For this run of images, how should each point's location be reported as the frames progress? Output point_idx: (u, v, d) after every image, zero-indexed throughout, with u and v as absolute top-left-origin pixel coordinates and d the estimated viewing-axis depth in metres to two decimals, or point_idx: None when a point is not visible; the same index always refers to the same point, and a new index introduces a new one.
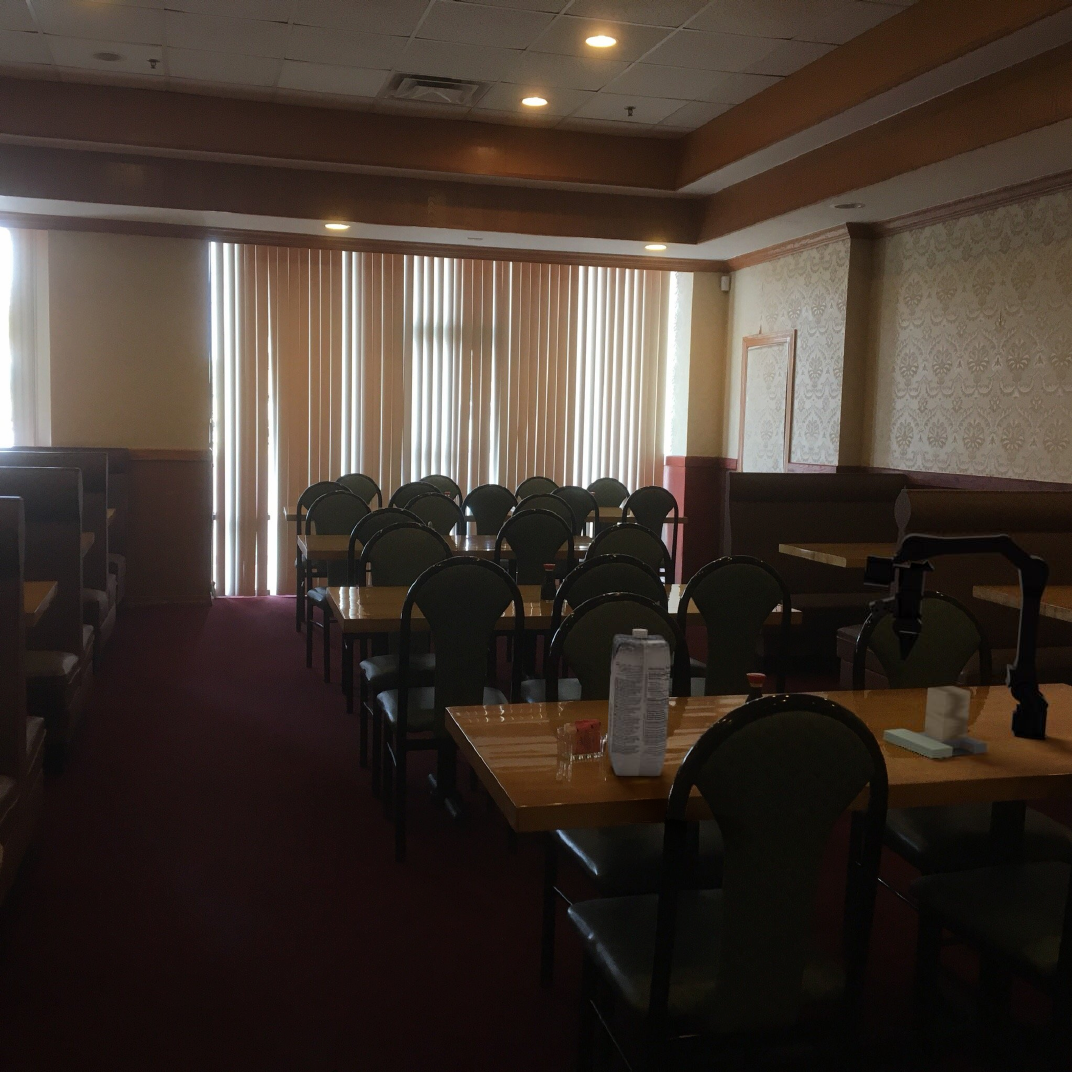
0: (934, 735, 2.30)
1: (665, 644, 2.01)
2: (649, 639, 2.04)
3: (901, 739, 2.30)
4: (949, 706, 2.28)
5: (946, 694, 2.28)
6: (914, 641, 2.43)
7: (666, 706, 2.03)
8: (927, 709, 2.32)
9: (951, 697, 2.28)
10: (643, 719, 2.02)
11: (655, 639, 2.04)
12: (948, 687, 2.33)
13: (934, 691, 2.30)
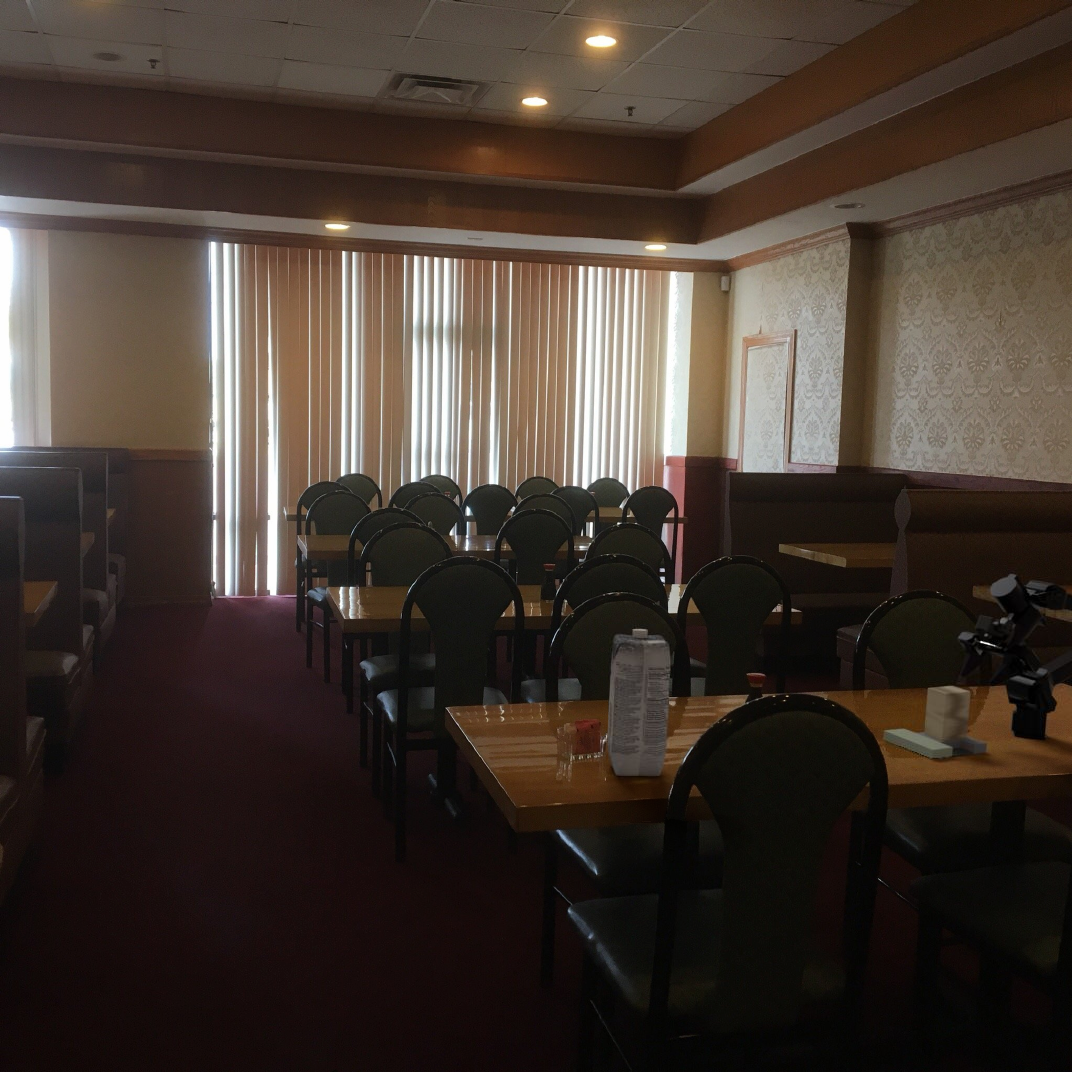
0: (934, 735, 2.30)
1: (665, 644, 2.01)
2: (649, 639, 2.04)
3: (901, 739, 2.30)
4: (949, 706, 2.28)
5: (946, 694, 2.28)
6: (1013, 675, 2.31)
7: (666, 706, 2.03)
8: (927, 709, 2.32)
9: (951, 697, 2.28)
10: (643, 719, 2.02)
11: (655, 639, 2.04)
12: (948, 687, 2.33)
13: (934, 691, 2.30)
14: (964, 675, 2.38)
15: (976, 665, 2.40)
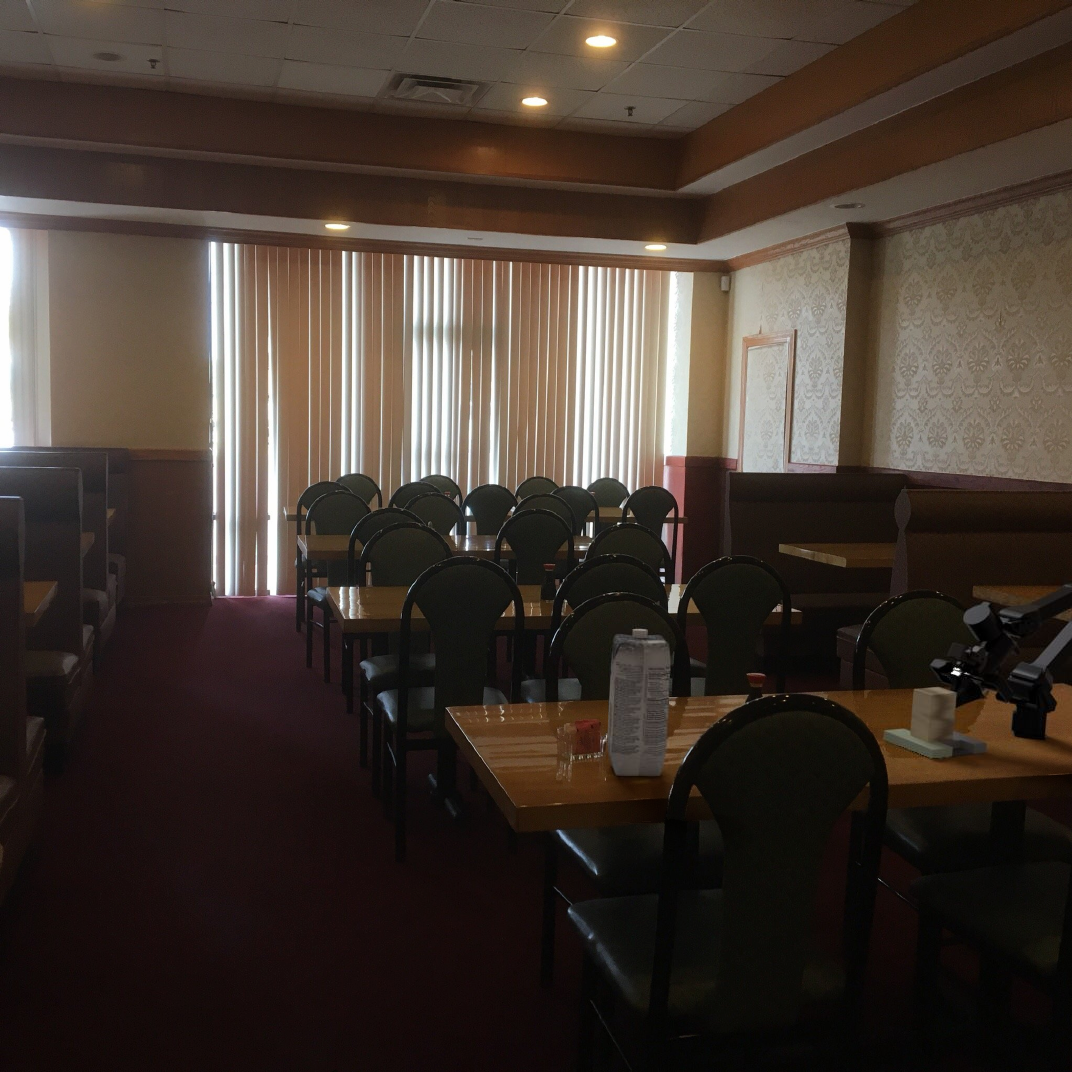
0: (920, 737, 2.29)
1: (665, 644, 2.01)
2: (649, 639, 2.04)
3: (901, 739, 2.30)
4: (934, 707, 2.27)
5: (932, 695, 2.26)
6: (971, 700, 2.32)
7: (666, 706, 2.03)
8: (913, 710, 2.31)
9: (937, 698, 2.27)
10: (643, 719, 2.02)
11: (655, 639, 2.04)
12: (934, 688, 2.32)
13: (920, 692, 2.29)
14: None
15: None
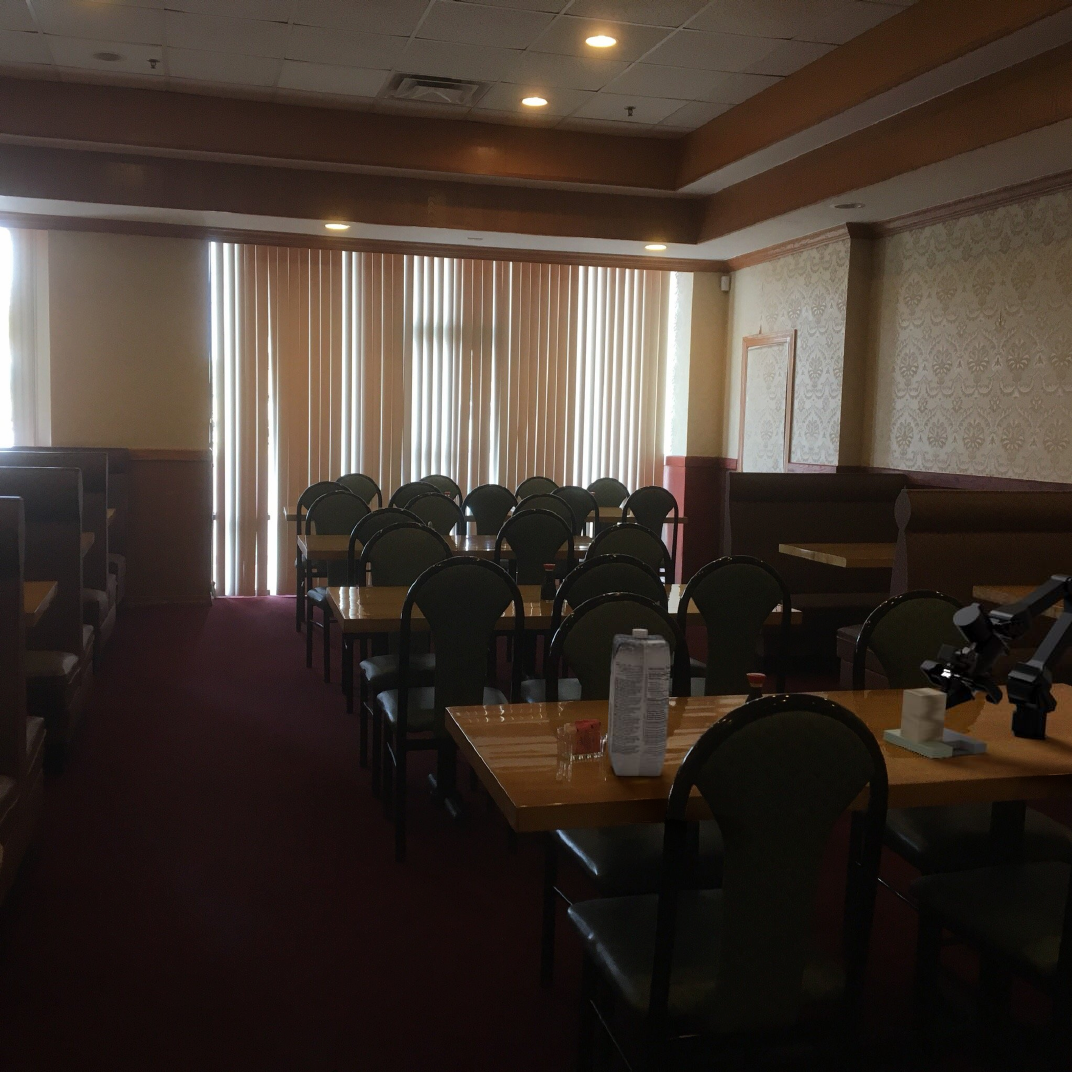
0: (910, 738, 2.28)
1: (665, 644, 2.01)
2: (649, 639, 2.04)
3: (901, 739, 2.30)
4: (924, 708, 2.26)
5: (922, 696, 2.25)
6: (961, 702, 2.31)
7: (666, 706, 2.03)
8: (903, 711, 2.29)
9: (927, 699, 2.26)
10: (643, 719, 2.02)
11: (655, 639, 2.04)
12: (924, 689, 2.30)
13: (910, 693, 2.28)
14: None
15: None
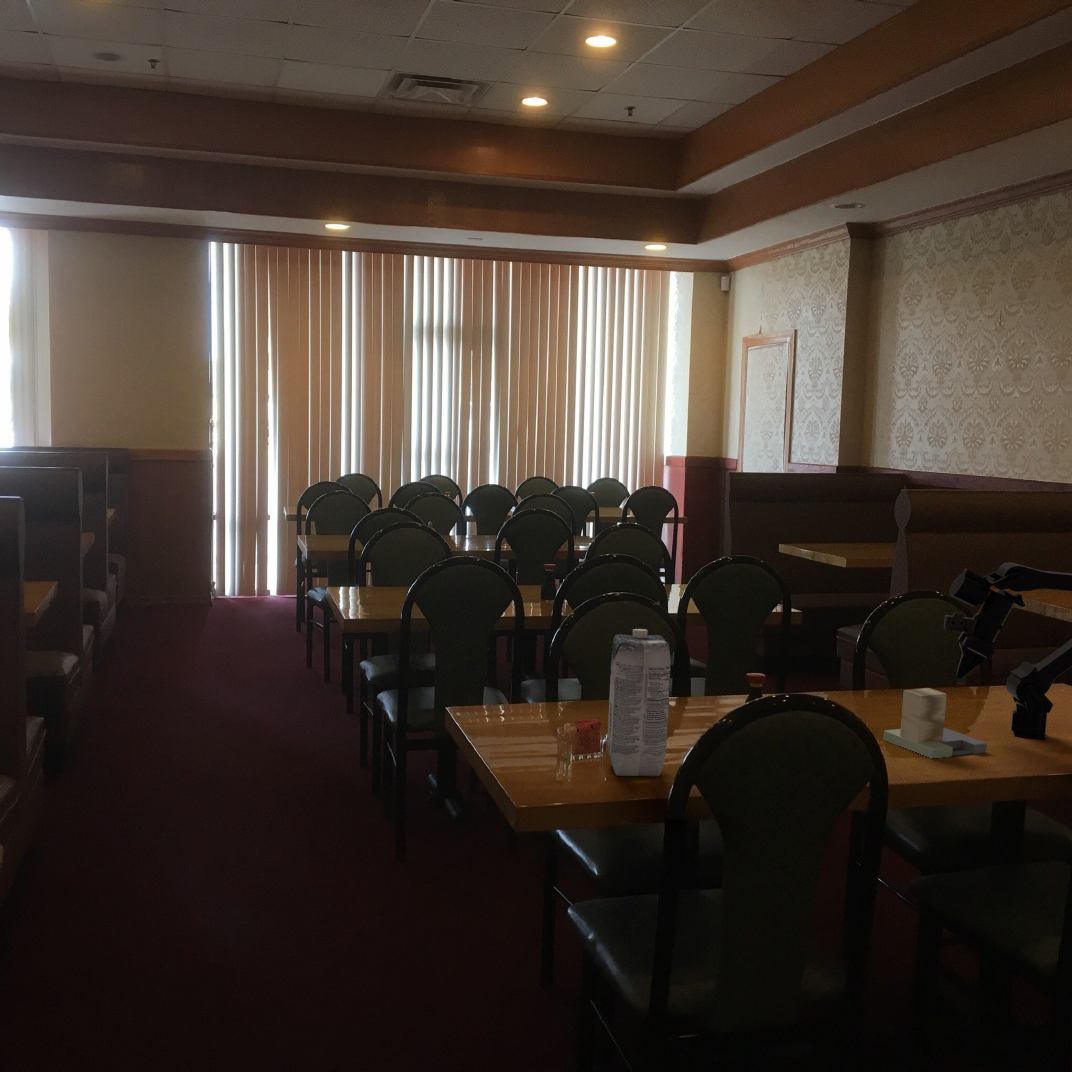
0: (910, 738, 2.28)
1: (665, 644, 2.01)
2: (649, 639, 2.04)
3: (901, 739, 2.30)
4: (924, 708, 2.26)
5: (922, 696, 2.25)
6: (977, 663, 2.40)
7: (666, 706, 2.03)
8: (903, 711, 2.29)
9: (927, 699, 2.26)
10: (643, 719, 2.02)
11: (655, 639, 2.04)
12: (924, 689, 2.30)
13: (910, 693, 2.28)
14: None
15: None
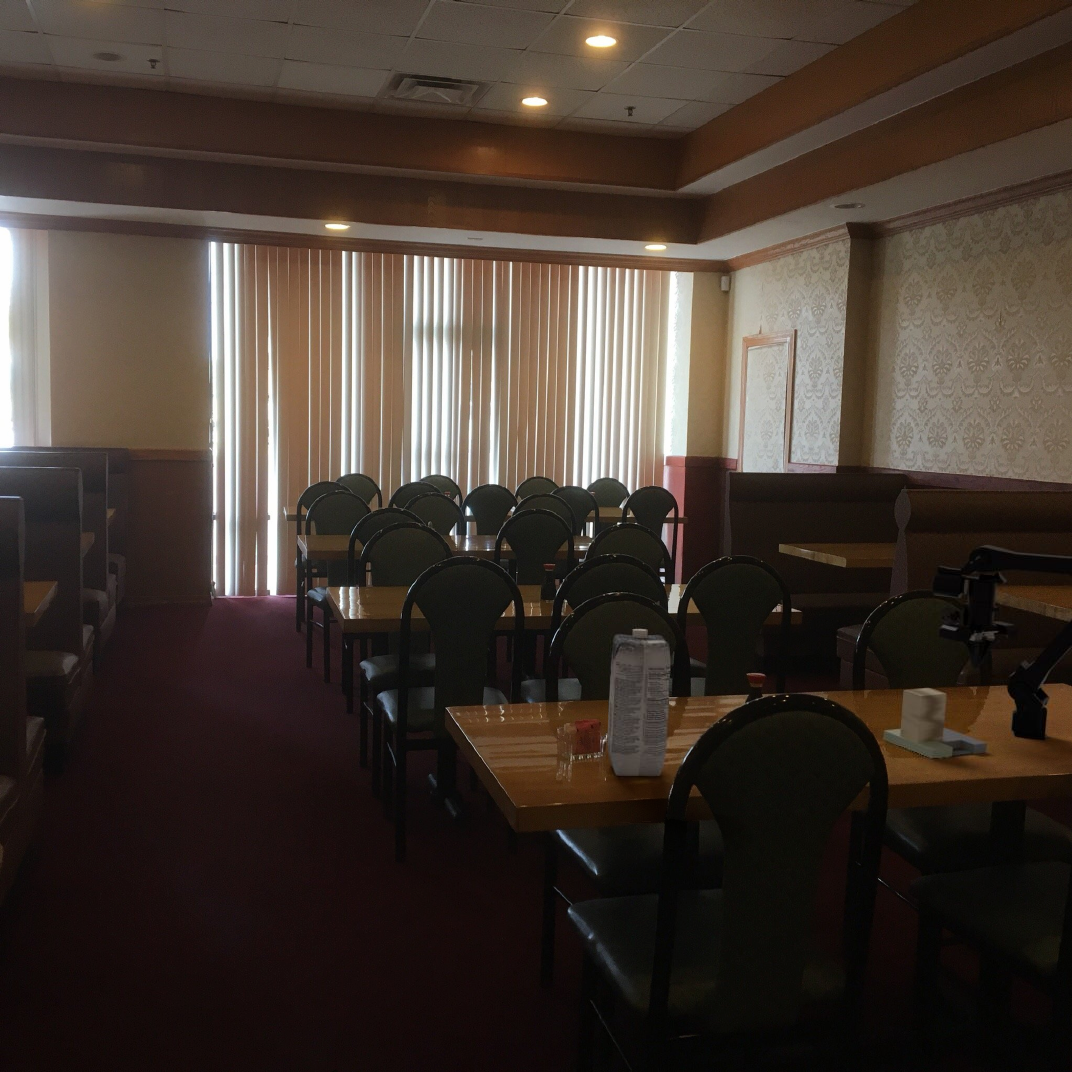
0: (910, 738, 2.28)
1: (665, 644, 2.01)
2: (649, 639, 2.04)
3: (901, 739, 2.30)
4: (924, 708, 2.26)
5: (922, 696, 2.25)
6: (977, 649, 2.45)
7: (666, 706, 2.03)
8: (903, 711, 2.29)
9: (927, 699, 2.26)
10: (643, 719, 2.02)
11: (655, 639, 2.04)
12: (924, 689, 2.30)
13: (910, 693, 2.28)
14: None
15: (984, 650, 2.47)
